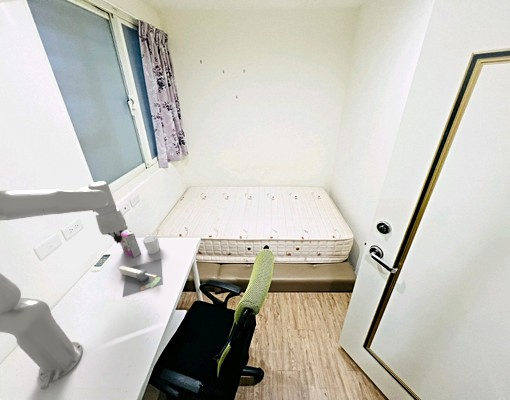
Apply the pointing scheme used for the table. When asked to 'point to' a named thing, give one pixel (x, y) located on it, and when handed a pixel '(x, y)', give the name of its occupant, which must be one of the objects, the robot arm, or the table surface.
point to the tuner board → (135, 286)
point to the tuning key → (136, 273)
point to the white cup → (151, 243)
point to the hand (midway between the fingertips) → (119, 241)
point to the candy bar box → (129, 243)
